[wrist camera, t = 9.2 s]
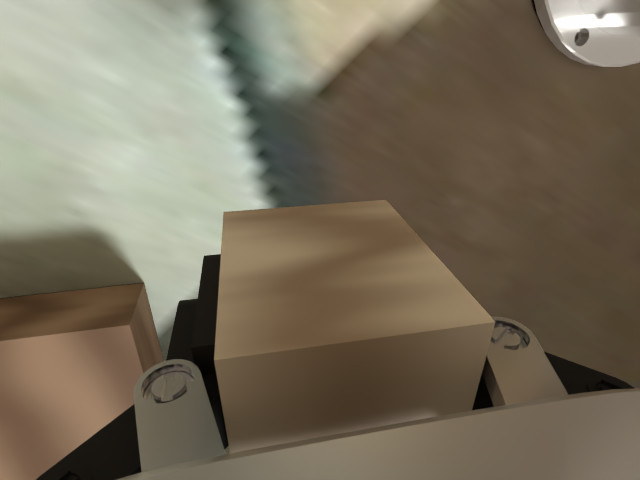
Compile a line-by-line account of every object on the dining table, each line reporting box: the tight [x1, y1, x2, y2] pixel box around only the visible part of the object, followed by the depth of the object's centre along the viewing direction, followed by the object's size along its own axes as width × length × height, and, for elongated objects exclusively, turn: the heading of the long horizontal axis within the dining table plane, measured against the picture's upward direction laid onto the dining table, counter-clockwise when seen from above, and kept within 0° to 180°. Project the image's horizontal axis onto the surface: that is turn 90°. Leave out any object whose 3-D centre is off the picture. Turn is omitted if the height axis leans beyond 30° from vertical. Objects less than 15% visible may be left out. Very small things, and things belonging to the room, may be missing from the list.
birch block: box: [214, 200, 495, 453], centre depth 10 cm, size 5×5×6 cm
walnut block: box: [0, 283, 163, 480], centre depth 24 cm, size 14×14×4 cm
